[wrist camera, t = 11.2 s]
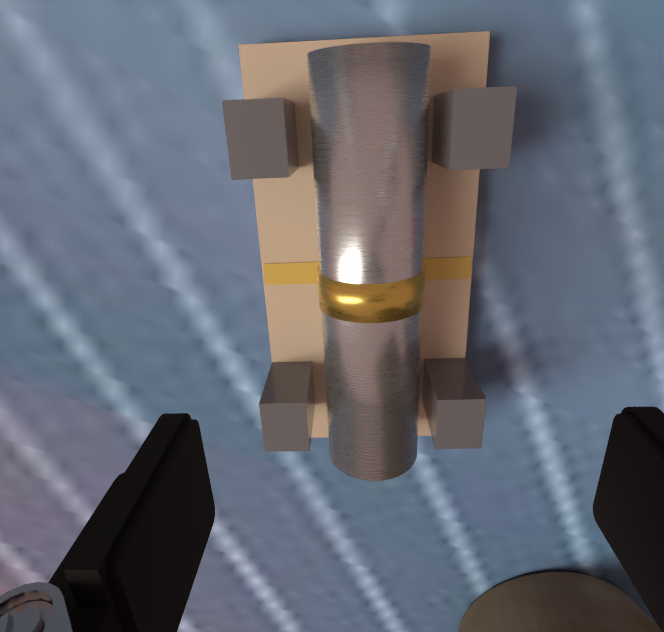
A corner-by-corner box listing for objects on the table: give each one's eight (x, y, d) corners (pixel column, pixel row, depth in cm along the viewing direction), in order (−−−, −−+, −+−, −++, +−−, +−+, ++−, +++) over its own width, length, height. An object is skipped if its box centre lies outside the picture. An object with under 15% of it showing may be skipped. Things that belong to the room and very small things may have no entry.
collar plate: (481, 36, 22) (524, 8, 17) (454, 420, 31) (477, 485, 25) (245, 49, 23) (213, 26, 17) (283, 424, 31) (269, 487, 26)
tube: (309, 62, 21) (298, 46, 16) (423, 56, 21) (445, 38, 16) (329, 423, 29) (325, 482, 24) (412, 421, 29) (425, 481, 24)
